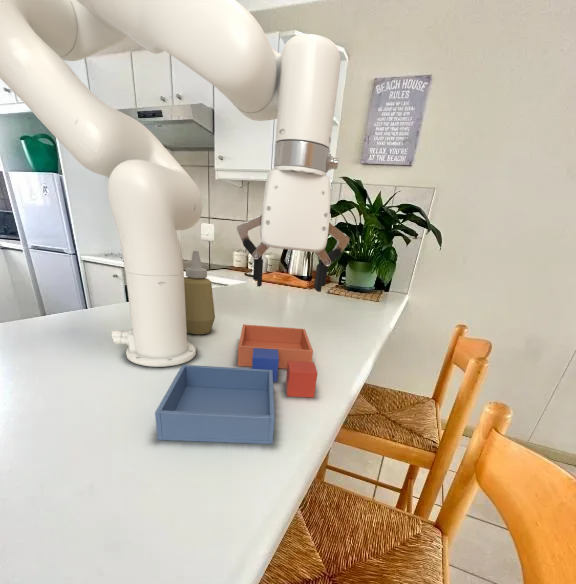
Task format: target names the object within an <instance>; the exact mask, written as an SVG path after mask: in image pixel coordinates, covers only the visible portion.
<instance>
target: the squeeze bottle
mask: <svg viewBox="0 0 576 584" xmlns="http://www.w3.org/2000/svg"><path fill="white" fill-rule="evenodd" d="M200 256H201V255H200V253H199V251H198V250H192V253H191V260H190V266H189V267H186V268H185V277H184V287H185V308H186V329H187V334H192V335H206V334H209V333H210V332H211V331H212V329H213V325H214V322H215V319H216V314H215V303H214V295H213V293H214V292H213V286H212V280H210V279H209V278H207V277H208V269H207V268H203V265H202V261H201V257H200Z"/></svg>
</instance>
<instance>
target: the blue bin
mask: <svg viewBox="0 0 576 584" xmlns="http://www.w3.org/2000/svg"><path fill="white" fill-rule="evenodd" d="M274 393H275V392H274V382H273V371H272V370H263V369H252V368H247V367H246V368H244V367H227V366H212V365H211V366H210V365H209V366H208V365H195V364H181V366H180V368H179V370H178V371H177V373H176V375H175V377H174V378H173V380H172V382H171V383H170V385H169V387H168V389H167V390H166V393H165V394H164V396H163V398H162V399H161V401H160V402H159V404H158V407H157V408H156V410H155V411H154V418H155V425H156V426H155V427H156V435H157V441H175V442H176V441H179V442H180V441H182V442H202V443H205V442H206V443H232V444H257V445H259V444H260V445H273V442H274V434H275V433H274V432H275V421H276V415H275V414H276V413H275V412H276V411H275V394H274Z"/></svg>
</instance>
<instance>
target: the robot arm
mask: <svg viewBox="0 0 576 584" xmlns="http://www.w3.org/2000/svg"><path fill="white" fill-rule="evenodd" d="M127 39H130V40H132V41H134V42H135V43H137V44H138V45H139V46H141V47H142V48H144V49H145V50H147V51H148V52H150V53H152V54H156V55H157V54H158V55H159V54H161V53H164V52H165V53H167V54H169V55H170V56H172V57H173V58H175V59H176V60H178V61H179V62H181V63H182V64H183V65H184V66H186V67H187V68H189V69H191V70H192V72H194V73H196V74H197V75H198V76H200V77H201V78H203V79H204V80H205V81H207V82H208V83H209V84H211V85H212V86H213V87H215V88H216V89H217V90H218V91H219V92H220V93H221V94H222V95H223V96H224V97H226V99H228V100H229V101H230V103H232V105H233V106H234V107H235V108H236V109H237V110H238V112H240V113H241V114H242V115H243V116H245V117H246V118H247V119H250V120H252V121H255V122H256V121H257V122H266V121H273V120H276V127H275V129H276V130H275V142H274V143H275V144H274V158H273V169H270V170H268V172H267V175H266V179H265V185H264V191H263V197H262V207H261V214H260V215H258V216H255V217H253V218H251V219H248V220H247V221H244V222H242V223H240V224H238V225H237V226H236V231H237V234H238V236H239V238H240V240H241V243H242V245H243V247H244V248H245V249H246V251H247V252H248V253H249V254H250V256H251V257H252V258H253V270H252V271H253V273H252V280H253V281H256V287H261V286H262V285H263V270H264V259H263V255H264V254H265V253H266V251H267V250H268V249H270V248H271V249H272V248H273V249H281V250H290V251H301V252H310V253H315V256H317V258H318V260H319V261H318V263H317V264H316V269H315V276H314V283H313V289H314V290H315V291H316V292H318V293H321V292H322V287H326V282H327V277H328V268H329V266H331V264H332V263H333V262H335V261H336V260H337V259H338V258H339V257H340V256H341V255H342V253H343V252H344V250H345V248H346V247H347V246H348V243H350V237H349V236H348V235H346V234H345V233H344V232H343V231H341V230H340V229H339V228H337V227H336V226H335V225H333V224H332V223H331V222H330V216H331V198H332V197H331V196H332V195H331V194H332V193H331V190H332V189H331V177H330V176H327V173H328V172H329V171H332V170H337V169H338V166H339V158H338V157H334V156H333V155H332V153H331V149H330V148H331V141H332V132H333V126H334V125H333V124H334V117H335V111H336V101H337V95H338V87H339V79H340V73H341V71H340V70H341V54H340V51H339V48H338V47H337V45H336V44H335V43H334V42H333V41H332V40H331V39H330V38H328V37H326V36H323V35H319V34H316V33H315V34H314V33H300V34H297V35H294V36H292V37H291V38H290V39H288V40H287V41H286V43H285V44H284V46H283V49H282V52H281V53H280V52H278V51H277V50H275V49H274V48H273V47H272V45H271V43H270V41H269V39H268V37H267V34H266V33H265V32H264V29H263V27H262V26H261V25H260V23H259V22H258V20H257V19H256V17H255V16H253V14H252V13H251V12H250V11H249V10H248V9H247V8H246V7H244V6H243V4H241V3H240V2H238V1H237V0H0V80H1V81H3V83H4V84H5V85H6V86H7V87H8V88H9V89H10V90H11V91H12V92H13V93H14V94H15V95H16V96H17V97H18V98H19V99H20V101H22V102H23V104H25V106H26V107H27V109H29V110H30V111H31V113H33V114H34V115H35V117H36V118H37V119H38V120H39V121H40V122H41V123H42V125H44V127H45V128H46V129H47V130H48V131H49V132H50V133H51V134H52V135H53V136H54V137H55V138H56V140H57V141H58V142H59V143H60V144H61V145H62V146H63V147H64V148H65V149H66V150H67V151H68V153H69V154H70V155H71V156H72V157H73V158H74V159H75V160H76V161H77V162H78V163H79V164H80V165H81V166H82V167H83V168H85V169H87V170H88V171H89V172H92V173H94V174H96V175H99V176H103V177H108V181H107V196H108V201H109V202H108V203H109V206H110V209H111V212H112V216H113V219H114V222H115V225H116V229H117V232H118V236H119V237H118V238H119V241H120V247H121V253H122V260H123V268H124V274H125V279H126V280H125V282H126V290H127V297H128V305H129V313H130V320H131V321H130V322H131V328H132V329H130V330H129V331H124V330H115V329H113V330H112V331H111V335H110V336H111V339H112V342H113V344H115V345H126V346H127V348H126V350H125V355H126V358H127V360H128V361H130V362H132V363H133V364H136V365H139V366H143V367H144V366H145V367H151V368H163V367H174V366H178V365H183V364H185V363H188V362H189V361H191V360H192V359H194V358H195V356H196V355H197V354H196V352H197V350H196V347H195V346H194V344H192V343H190V342H189V341H188V332H187V329H186V308H185V287H184V278H185V272H184V258H183V251H182V246H181V243H180V240H179V237H178V234H177V231H185V230H188V229H191V228H193V227H194V226H196V224H197V223H198V222H199V221H200V219H201V217H202V214H203V213H202V212H203V199H202V195H201V191H200V190H199V188H198V185H197V184H196V183H195V181H194V180H193V178H192V177H191V176H190V175H189V174H188V172H187V171H186V170H185V169H184V168H183V167H182V166H181V164H180V163H179V162H178V160H177V159H176V158H175V157H174V156H173V155H172V154H171V153H170V152H169V151H168V149H166V147H165V146H164V145H163V144H162V143H161V141H160V140H159V139H158V138H157V137H156V136H155V134H153V132H152V131H151V130H150V129H148V128H147V127H146V126H145V125H144V124H143V123H141V122H140V121H139V120H137V119H135V118H133V117H132V116H130V115H128V114H126V113H125V112H123V111H120V110H118V109H117V108H114V107H113V106H110V105H109V104H107V103H106V102H104V101H102V99H100V98H99V97H98V96H96V94H94V92H93V91H91V90H90V88H89V87H88V86H87V85H86V84H85V82H83V81H82V79H80V78H79V76H78V75H77V74H76V73H75V71H74V70H73V69H72V67H70V65H69V64H67V62H78V61H81V60H83V59H87V58H89V57H91V56H93V55H96V54H98V53H100V52H102V51H104V50H106V49H109V48H111V47H113V46H115V45H117V44H120V43H122V42H124V41H125V40H127ZM66 61H67V62H66ZM257 227H260V231H259V233H260V240H261V242H260V243H259V244H258V245H257V246H256V245H255V244H254V243H253V241H252V240H251V239H250V236H249V233H248V232H249V231H250V230H253V229H255V228H257ZM329 235H330V236H331V237H332V238H334V239H335V240H336V244H335V245H334V247H333V248H332V249H331V250H329V252H328V253H327V251H326V247H327V245H328V244H327V243H328V237H329Z"/></svg>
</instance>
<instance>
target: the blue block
mask: <svg viewBox="0 0 576 584" xmlns="http://www.w3.org/2000/svg"><path fill="white" fill-rule="evenodd" d="M278 364H279V355H278V350H276V349H261V348H253V360H252V367H251V369H263V370H272V371H273V383H277V382H278V375H279V373H278V372H279V368H278Z"/></svg>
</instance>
